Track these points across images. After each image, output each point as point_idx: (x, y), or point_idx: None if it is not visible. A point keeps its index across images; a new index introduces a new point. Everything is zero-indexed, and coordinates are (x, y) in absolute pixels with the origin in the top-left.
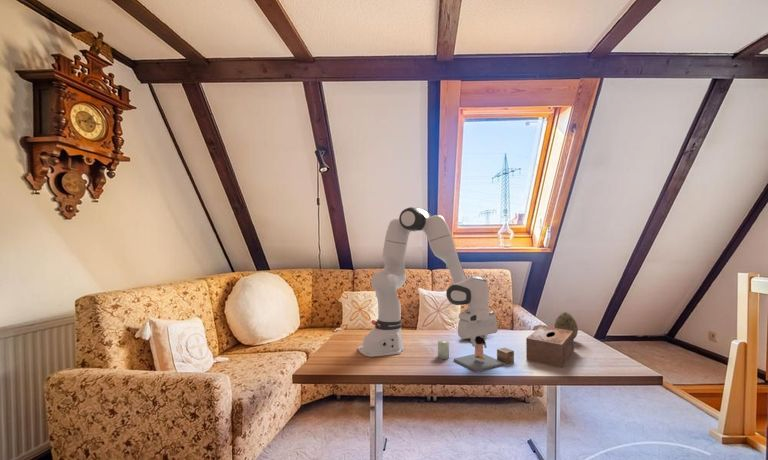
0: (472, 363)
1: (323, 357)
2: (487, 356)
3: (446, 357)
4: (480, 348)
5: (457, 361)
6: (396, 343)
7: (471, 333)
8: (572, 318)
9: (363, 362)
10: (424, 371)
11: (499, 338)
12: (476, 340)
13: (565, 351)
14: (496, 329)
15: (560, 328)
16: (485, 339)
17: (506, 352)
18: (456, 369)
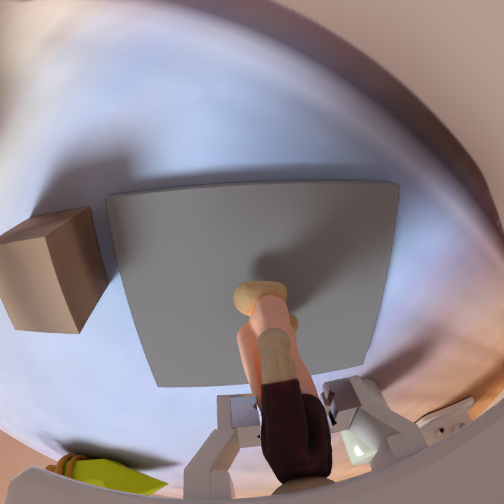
0: (340, 280)
1: (497, 392)
2: (152, 336)
3: (364, 384)
4: (294, 356)
5: (367, 338)
6: (430, 441)
7: (496, 452)
8: None
9: (496, 371)
10: (495, 290)
11: (20, 419)
12: (329, 438)
13: None
14: (21, 498)
15: None
16: (204, 444)
17: (37, 241)
18: (431, 264)
